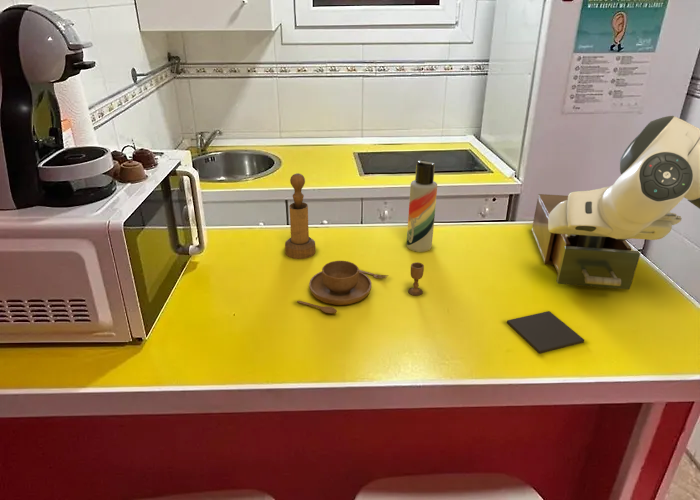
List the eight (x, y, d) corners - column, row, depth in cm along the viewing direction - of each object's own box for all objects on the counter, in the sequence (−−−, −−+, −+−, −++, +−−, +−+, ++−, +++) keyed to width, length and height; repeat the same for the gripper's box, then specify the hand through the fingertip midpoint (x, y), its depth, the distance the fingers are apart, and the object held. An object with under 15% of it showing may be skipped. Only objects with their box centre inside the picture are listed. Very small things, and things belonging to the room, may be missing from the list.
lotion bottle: (401, 246, 117) (406, 160, 108) (417, 238, 121) (424, 155, 111) (420, 255, 114) (427, 167, 104) (436, 247, 117) (445, 161, 108)
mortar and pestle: (290, 261, 110) (286, 181, 102) (281, 248, 116) (276, 171, 107) (319, 255, 113) (318, 177, 105) (309, 243, 118) (307, 167, 110)
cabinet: (616, 269, 109) (628, 228, 104) (544, 264, 110) (553, 223, 106) (594, 235, 123) (604, 197, 119) (531, 231, 125) (538, 193, 120)
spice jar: (586, 256, 109) (598, 208, 104) (604, 268, 105) (617, 218, 100) (567, 260, 108) (578, 211, 103) (584, 271, 104) (596, 221, 98)
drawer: (637, 301, 96) (648, 264, 93) (562, 295, 98) (570, 259, 94) (606, 252, 114) (614, 219, 110) (542, 248, 115) (549, 215, 111)
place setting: (338, 263, 110) (338, 238, 107) (426, 289, 101) (428, 263, 98) (289, 303, 96) (287, 275, 93) (385, 336, 87) (387, 307, 85)
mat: (548, 313, 94) (549, 310, 94) (584, 342, 86) (584, 339, 86) (506, 323, 91) (506, 320, 91) (539, 354, 84) (539, 351, 84)
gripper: (685, 198, 88) (648, 223, 102) (561, 191, 91) (540, 216, 104) (687, 233, 87) (650, 254, 100) (561, 225, 89) (540, 247, 103)
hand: (593, 235), depth 102 cm, fingers open, 8 cm apart
